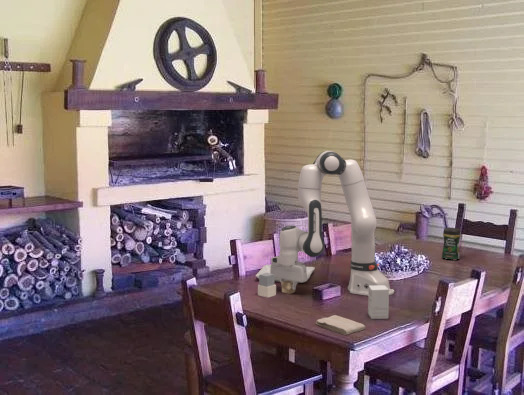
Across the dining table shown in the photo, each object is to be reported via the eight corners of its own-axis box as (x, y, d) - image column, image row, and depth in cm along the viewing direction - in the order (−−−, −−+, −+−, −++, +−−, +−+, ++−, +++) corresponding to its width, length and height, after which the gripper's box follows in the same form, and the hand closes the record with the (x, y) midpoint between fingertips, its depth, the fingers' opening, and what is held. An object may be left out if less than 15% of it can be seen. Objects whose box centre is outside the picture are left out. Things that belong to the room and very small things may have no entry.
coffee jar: (440, 259, 396) (441, 228, 393) (444, 257, 402) (445, 226, 400) (457, 261, 391) (458, 229, 388) (460, 258, 397) (462, 227, 395)
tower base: (276, 295, 319) (276, 284, 319) (267, 297, 315) (267, 287, 314) (266, 292, 323) (266, 282, 323) (257, 295, 319) (257, 285, 318)
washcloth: (333, 320, 283) (333, 312, 282) (366, 330, 269) (367, 322, 269) (313, 325, 275) (313, 318, 275) (346, 336, 262) (346, 329, 261)
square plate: (308, 285, 338) (308, 277, 338) (254, 282, 344) (254, 275, 343) (315, 273, 365) (315, 265, 364) (265, 270, 370) (265, 263, 370)
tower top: (274, 284, 319) (274, 274, 318) (267, 286, 315) (267, 276, 314) (266, 283, 322) (266, 272, 321) (259, 285, 318) (259, 274, 318)
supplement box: (384, 313, 290) (385, 284, 288) (388, 319, 282) (389, 289, 281) (367, 314, 289) (368, 285, 288) (370, 319, 282) (371, 289, 280)
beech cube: (295, 292, 325) (295, 281, 324) (289, 293, 322) (289, 283, 321) (287, 290, 328) (287, 280, 327) (281, 292, 325) (281, 281, 324)
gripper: (310, 262, 318) (309, 290, 320) (276, 255, 332) (276, 283, 333) (301, 264, 314) (301, 293, 315) (268, 258, 327) (268, 286, 329)
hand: (288, 288), depth 324 cm, fingers closed on beech cube, 4 cm apart
